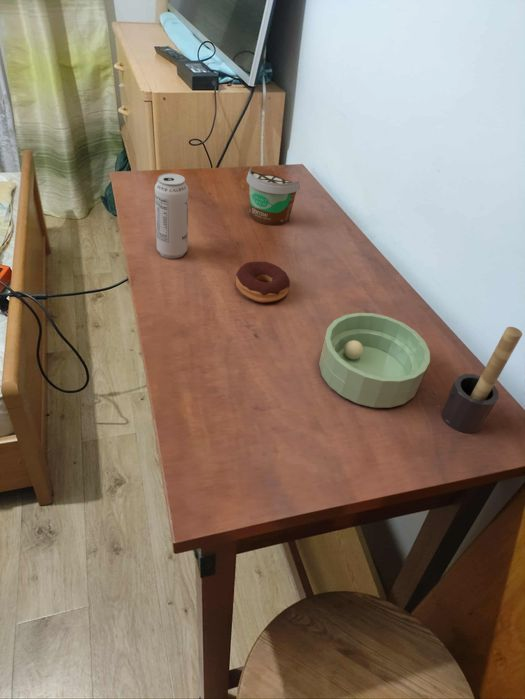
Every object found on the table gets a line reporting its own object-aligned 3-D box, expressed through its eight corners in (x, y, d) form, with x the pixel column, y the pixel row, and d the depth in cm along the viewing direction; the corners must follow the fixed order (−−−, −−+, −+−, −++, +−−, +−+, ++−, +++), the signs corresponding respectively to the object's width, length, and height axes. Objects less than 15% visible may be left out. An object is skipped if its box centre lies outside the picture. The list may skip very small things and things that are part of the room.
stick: (470, 411, 75) (517, 326, 65) (476, 421, 74) (525, 336, 63) (458, 411, 75) (503, 326, 64) (464, 422, 73) (510, 336, 63)
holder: (472, 402, 77) (488, 374, 73) (489, 433, 73) (506, 404, 69) (435, 402, 76) (448, 373, 73) (449, 433, 72) (464, 404, 68)
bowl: (401, 342, 87) (411, 314, 83) (431, 411, 75) (445, 382, 71) (311, 340, 85) (318, 311, 81) (328, 410, 73) (336, 380, 69)
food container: (234, 218, 115) (238, 175, 108) (245, 208, 119) (249, 166, 113) (285, 233, 112) (292, 189, 106) (294, 222, 117) (301, 179, 110)
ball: (364, 360, 81) (368, 341, 81) (356, 362, 79) (359, 343, 78) (348, 355, 83) (351, 337, 82) (339, 357, 81) (342, 339, 80)
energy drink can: (190, 258, 100) (191, 185, 90) (160, 261, 98) (157, 186, 88) (183, 243, 104) (184, 171, 95) (154, 245, 102) (151, 172, 93)
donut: (294, 304, 92) (297, 286, 89) (240, 307, 90) (242, 288, 87) (281, 274, 99) (283, 256, 97) (231, 275, 97) (232, 257, 94)
